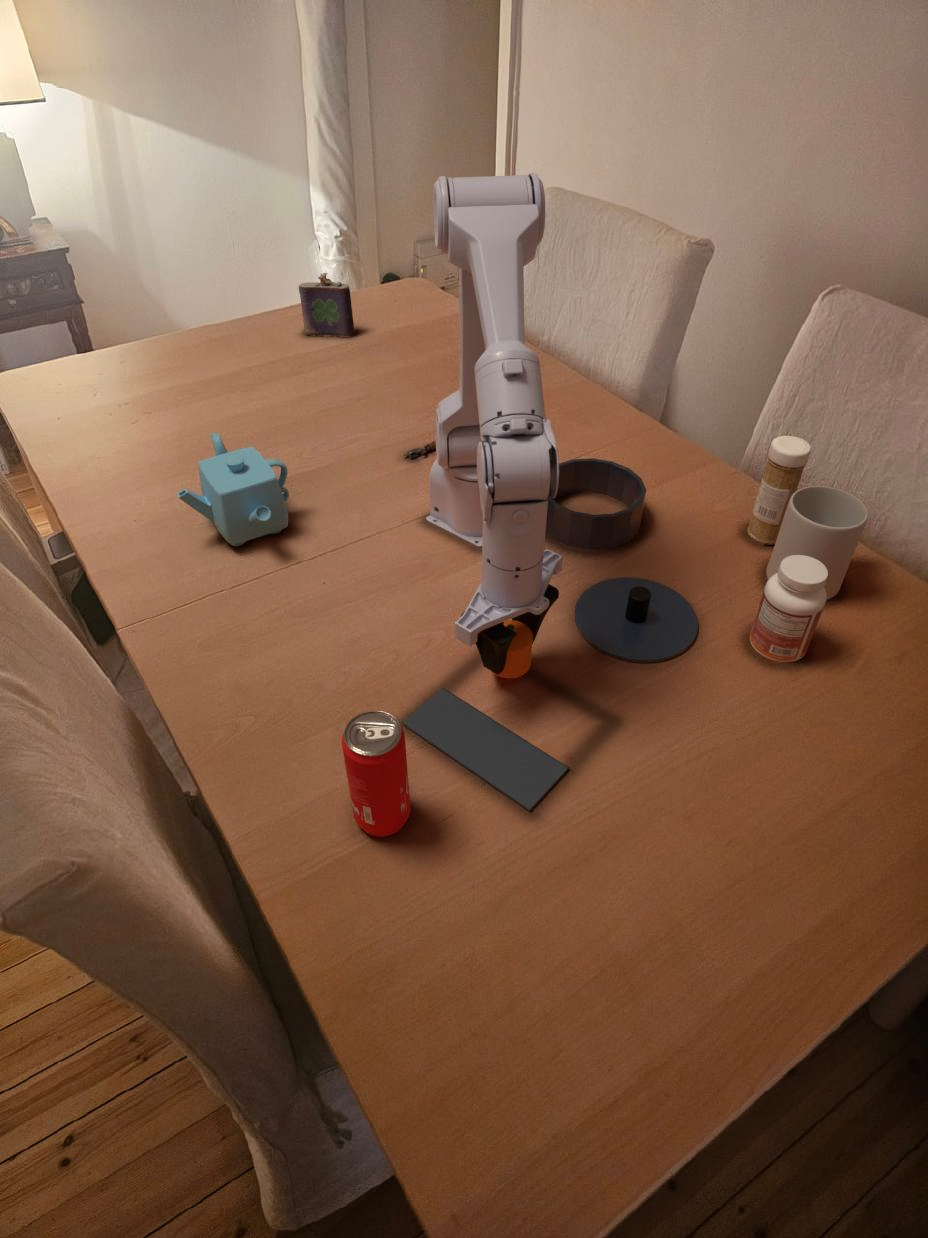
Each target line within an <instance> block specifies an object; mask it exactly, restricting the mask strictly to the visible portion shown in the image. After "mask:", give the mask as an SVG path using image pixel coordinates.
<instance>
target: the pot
mask: <svg viewBox="0 0 928 1238" xmlns="http://www.w3.org/2000/svg"><path fill="white" fill-rule="evenodd" d="M572 493H573V494H574V493H593V494H599V495H605V496H607V497H610V498H613V499H615V500H618V501H620V502H622V503H623V504H624V505H625V506H626V507H627V508H626V509H623V510H620V511H617V512H614V513H599V514H598V513H597V514H591V513H586V512H580V511H574V510H572V509H570V508H568V507H566V506H563V505H561V504H560V503H558V502H557V501H556V499H557V498H559V497H562V496H566V495H569V494H572ZM646 495H647V488H646V486H645V483H644V481H643V478H642V477H641V476H639V475H638V474H637V473H635V472H634V470H632V469H631V468H629V467H627V466H624V465H622V464H620V463H617V462H614V461H613V460H612V461H611V460H606V459H600V458H599V459H598V458H594V457H593V458H574V459H570V460H567V461H563V462H559V482H558V490H557V494H556V497H555V498H551V496H550V494H548V508H547V521H546V534H547V535H548V536H549V537H550V538H552V539H554V540H556V541H558V542H560V543H561V544H563V545H566V546H568V547H572V548H573V547H574V548H579V549H584V550H589V551H591V550H592V551H593V550H606V549H608V550H610V549H612V548H616V547H618V546H621V545H624V544H626V543H628V542H630V540H632V539H633V538H634V537H635V536H636V535H637V534H638V533H639V530H640V526H641V523H642V517H643V512H644V506H645V501H646Z"/></svg>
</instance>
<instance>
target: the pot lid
mask: <svg viewBox="0 0 928 1238" xmlns="http://www.w3.org/2000/svg"><path fill="white" fill-rule="evenodd" d="M574 622H575V626H576V628H577V631H578V632H579V634H580V636H581V637H583V639H584V640H585V641H586V642H587V643H588V644H589V645H590V646H592V647H593V648H594V649H596V650H597V651H599V652H601V653H603V654H604V655H607V656H609V657H611V658H614V659H617V660H621V661H625V662H631V663H637V664H639V663H640V664H653V663H659V662H665V661H668V660H671V659H674V658H676V657H678V656H681V654H683V653H684V652H686V651H687V650H688V649H689V648H690V647H691V646H692V644H693V643H694V642H695V640H696V637H697V633H698V630H699V621H698V617H697V613H696V611H695V609H694V607H693V606H692V604H690V602H689V601H688V600H687V599H686V597H684V596H683V595H682V594H681V593H679V592H678V591H676V590H675V589H673V588H671V587H670V586H667V585H665V584H663V583H661V582H658V581H655V580H651V579H647V578H640V577H631V576H630V577H627V576H626V577H625V576H624V577H614V578H609V579H606V580H601V581H599V582H597V583H595V584H593V585H591V586H590V587H588V588H587V589H585V591H583V592H582V594H581V595H580V596H579V598H578V599H577V601H576V604H575V609H574Z"/></svg>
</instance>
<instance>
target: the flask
mask: <svg viewBox="0 0 928 1238" xmlns="http://www.w3.org/2000/svg"><path fill="white" fill-rule="evenodd" d="M327 275H328V273H327V272H323V273H320V275H319V276H317V279H318V280H319V281H320V282H317V281H316V282H302V283H300V284H298V292H299V298H300V304H301V314H302V320H303V330H304V333H305V335H307V336H311V337H317V336H318V337H334V338H335V337H340V338H352V337H354V335H355V323H354V316H353V307H352V297H351V289H350V286H349V285H348V284H347V283H342V281H337V282H336V281H332V279H330V278H328V277H327Z"/></svg>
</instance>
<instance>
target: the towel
mask: <svg viewBox="0 0 928 1238" xmlns="http://www.w3.org/2000/svg"><path fill="white" fill-rule="evenodd" d="M402 726H404V727H405V728H406V729H408V730H410V731H411V732H412V733H414V734H415V735H416V736H418V737H420V738H421V739H422V740H424V741H425V742H427V743H428V744H429V745H431V746H433V747H434V748H435V749H437V750H439V751H440V752H441V753H443V754H444V755H446V756H447V757H449V758H450V759H451V760H453V761H455V762H456V763H458V764H459V765H460V766H462V767H463V768H465V769H466V770H467V771H469V772H470V773H472V774H474V775H475V776H476V777H478V778H479V779H480V780H482V781H483V782H485V783H487V785H489V786H491V787H493V788H494V789H496V791H498V792H500V793H501V794H503V795H504V796H506V797H507V798H508V799H510V800H511V801H513V802H514V803H516V804H517V805H519V806H520V807H521V808H523V809H525V810H526V811H527V812H531V811H532V810H533V809H534V808H535V807H536V806H537V805H538V803H540V801H541V800H542V799H543V798H544V797H545V796H546V795H547V794H548V792H549V791H550V790H551V789H552V788H553V787H554V786H555V785H556V784H557V783H558V782H559V780H561V778H562V777H563V776H564V775H565V774H566V773H567V772H568V771H569V770H570V767H569V766H567V765H565V764H564V763H562V762H561V761H560V760H558V759H556V758H554V757H553V756H551V755H550V754H548V753H547V752H545V750H544V751H543V750H542V749H541V748H539V747H537V746H536V745H534V744H532V743H531V742H529V741H528V740H526V739H525V738H523V737H522V736H520V735H519V734H517V733H516V732H513V731H512V730H510V729H509V728H508V727H506V726H504V725H503V724H501V723H500V722H498V721H496V720H495V719H493V718H491V717H490V716H489V715H487V714H485V713H484V712H483V711H481V710H479V709H478V708H476V707H475V706H473V705H471V704H470V703H468V702H467V701H465V700H464V699H462V698H460V697H459V696H457V695H455V694H454V693H452V692H451V691H449V690H448V689H446V688H445V687H442V688H441V689H440V690H438V691H437V692H436V693H435V694H434V695H433V696H431V697H430V698H429V699H428V700H427V701H426V702H425V703H423V704H422V705H421V706H420V707H418V709H416V710H415V711H414V712H413V713H412V714H411V715H410V716H408V717H407V718H406V719H405V720H404V721H402Z"/></svg>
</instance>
